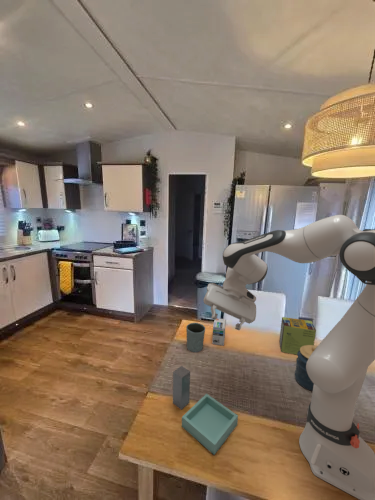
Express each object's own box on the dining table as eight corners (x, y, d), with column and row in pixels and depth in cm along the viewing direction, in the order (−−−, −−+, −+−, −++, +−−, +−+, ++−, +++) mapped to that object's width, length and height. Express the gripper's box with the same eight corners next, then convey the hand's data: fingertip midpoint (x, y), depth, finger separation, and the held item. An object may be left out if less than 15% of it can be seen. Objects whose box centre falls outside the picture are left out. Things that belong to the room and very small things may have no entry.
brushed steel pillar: (189, 402, 92) (190, 371, 89) (181, 409, 89) (181, 377, 86) (180, 396, 95) (181, 365, 92) (172, 402, 92) (173, 371, 89)
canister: (293, 385, 102) (297, 349, 99) (295, 367, 113) (299, 334, 110) (327, 397, 96) (334, 359, 93) (326, 377, 107) (331, 342, 104)
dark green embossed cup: (187, 341, 133) (187, 321, 130) (205, 343, 131) (205, 323, 129) (184, 352, 123) (185, 331, 120) (203, 354, 121) (204, 333, 119)
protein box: (312, 357, 121) (316, 330, 118) (280, 352, 125) (283, 325, 122) (308, 346, 131) (311, 320, 128) (278, 341, 135) (281, 316, 132)
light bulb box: (224, 346, 129) (225, 328, 127) (211, 344, 130) (212, 326, 128) (224, 335, 139) (226, 318, 137) (213, 334, 140) (214, 317, 138)
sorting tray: (237, 424, 83) (238, 415, 83) (214, 455, 73) (214, 444, 72) (206, 402, 92) (206, 393, 92) (181, 426, 82) (181, 416, 81)
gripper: (211, 277, 89) (202, 308, 81) (260, 298, 90) (255, 332, 81) (206, 284, 94) (196, 315, 86) (252, 305, 95) (247, 337, 86)
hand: (225, 323), depth 84 cm, fingers open, 8 cm apart
